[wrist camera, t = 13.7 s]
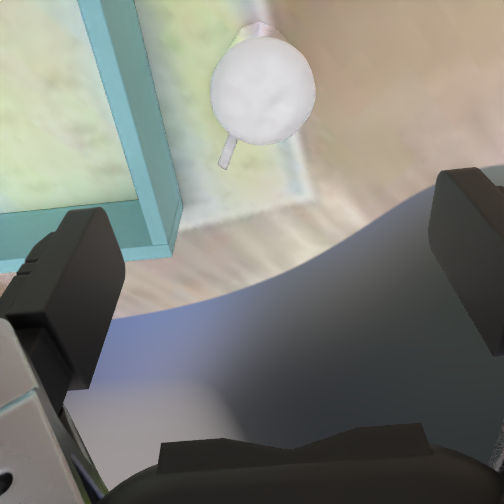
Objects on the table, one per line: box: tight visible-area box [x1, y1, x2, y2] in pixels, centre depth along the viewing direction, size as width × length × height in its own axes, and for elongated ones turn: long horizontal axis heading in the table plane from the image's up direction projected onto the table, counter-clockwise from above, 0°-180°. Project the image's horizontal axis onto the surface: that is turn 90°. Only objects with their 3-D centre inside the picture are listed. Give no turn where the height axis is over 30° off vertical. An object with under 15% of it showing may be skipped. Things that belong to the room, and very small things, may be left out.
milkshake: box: [210, 22, 316, 170], centre depth 21 cm, size 4×5×10 cm
